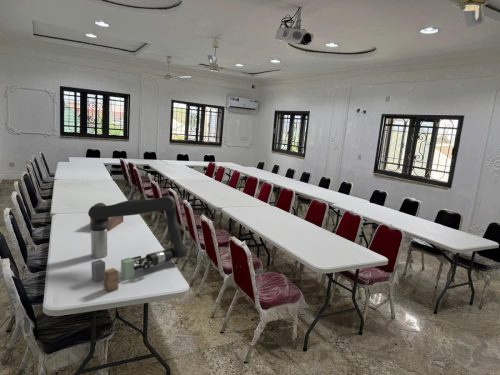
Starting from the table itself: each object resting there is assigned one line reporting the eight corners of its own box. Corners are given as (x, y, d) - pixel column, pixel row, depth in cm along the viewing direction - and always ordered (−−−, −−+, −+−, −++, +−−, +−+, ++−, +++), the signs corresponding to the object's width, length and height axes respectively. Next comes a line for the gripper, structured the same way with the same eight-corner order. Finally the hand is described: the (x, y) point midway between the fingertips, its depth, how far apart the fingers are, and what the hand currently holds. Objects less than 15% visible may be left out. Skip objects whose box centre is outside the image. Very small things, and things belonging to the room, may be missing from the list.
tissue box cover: (108, 231, 260) (108, 218, 259) (90, 229, 261) (90, 217, 259) (123, 221, 286) (123, 210, 284) (106, 220, 286) (106, 208, 285)
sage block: (121, 276, 189) (121, 259, 187) (129, 274, 192) (129, 257, 191) (125, 279, 185) (125, 262, 184) (134, 277, 189) (134, 260, 187)
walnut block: (104, 288, 175) (103, 270, 173) (113, 285, 178) (113, 267, 176) (108, 292, 171) (108, 273, 169) (118, 289, 175) (118, 271, 173)
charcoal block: (91, 279, 184) (91, 261, 182) (100, 276, 187) (100, 259, 185) (96, 282, 180) (95, 264, 178) (105, 279, 184) (105, 262, 182)
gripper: (148, 249, 205) (123, 255, 193) (162, 256, 196) (137, 263, 184) (148, 260, 206) (123, 268, 194) (162, 268, 197) (136, 276, 185)
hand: (130, 266), depth 189 cm, fingers open, 8 cm apart
